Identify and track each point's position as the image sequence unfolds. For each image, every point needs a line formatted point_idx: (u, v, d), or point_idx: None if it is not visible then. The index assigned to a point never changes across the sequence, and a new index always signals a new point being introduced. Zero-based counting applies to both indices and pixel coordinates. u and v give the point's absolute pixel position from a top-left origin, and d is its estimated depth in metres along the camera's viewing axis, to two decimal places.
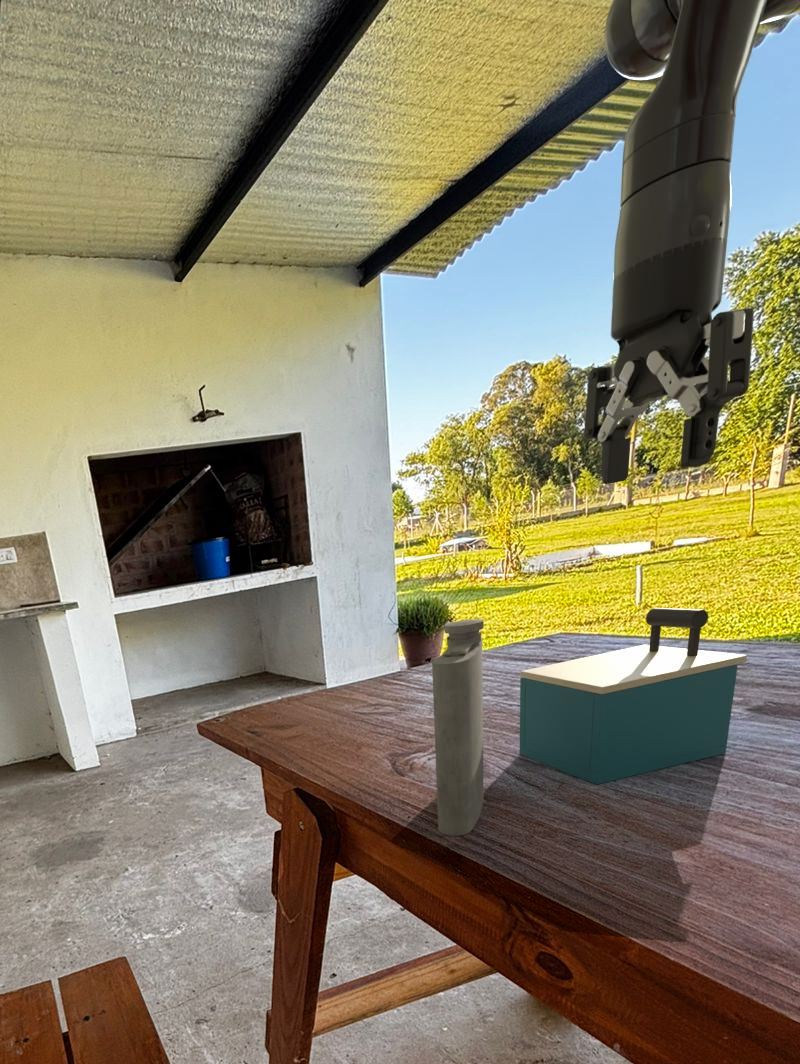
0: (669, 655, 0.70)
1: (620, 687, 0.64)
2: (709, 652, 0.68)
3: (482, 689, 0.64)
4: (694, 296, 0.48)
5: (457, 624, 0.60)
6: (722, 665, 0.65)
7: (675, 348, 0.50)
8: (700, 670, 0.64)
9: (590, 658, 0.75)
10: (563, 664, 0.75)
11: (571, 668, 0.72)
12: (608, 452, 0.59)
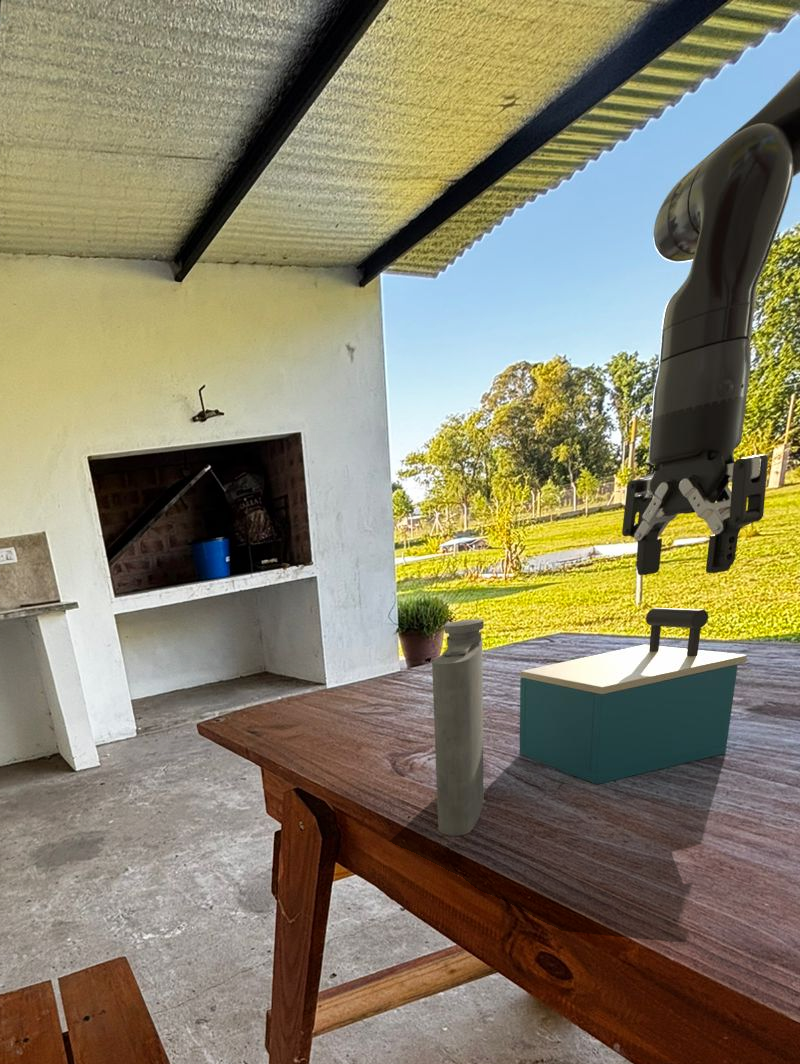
0: (669, 655, 0.70)
1: (620, 687, 0.64)
2: (709, 652, 0.68)
3: (482, 689, 0.64)
4: (720, 441, 0.60)
5: (457, 624, 0.60)
6: (722, 665, 0.65)
7: (703, 478, 0.62)
8: (700, 670, 0.64)
9: (590, 658, 0.75)
10: (563, 664, 0.75)
11: (571, 668, 0.72)
12: (643, 550, 0.70)
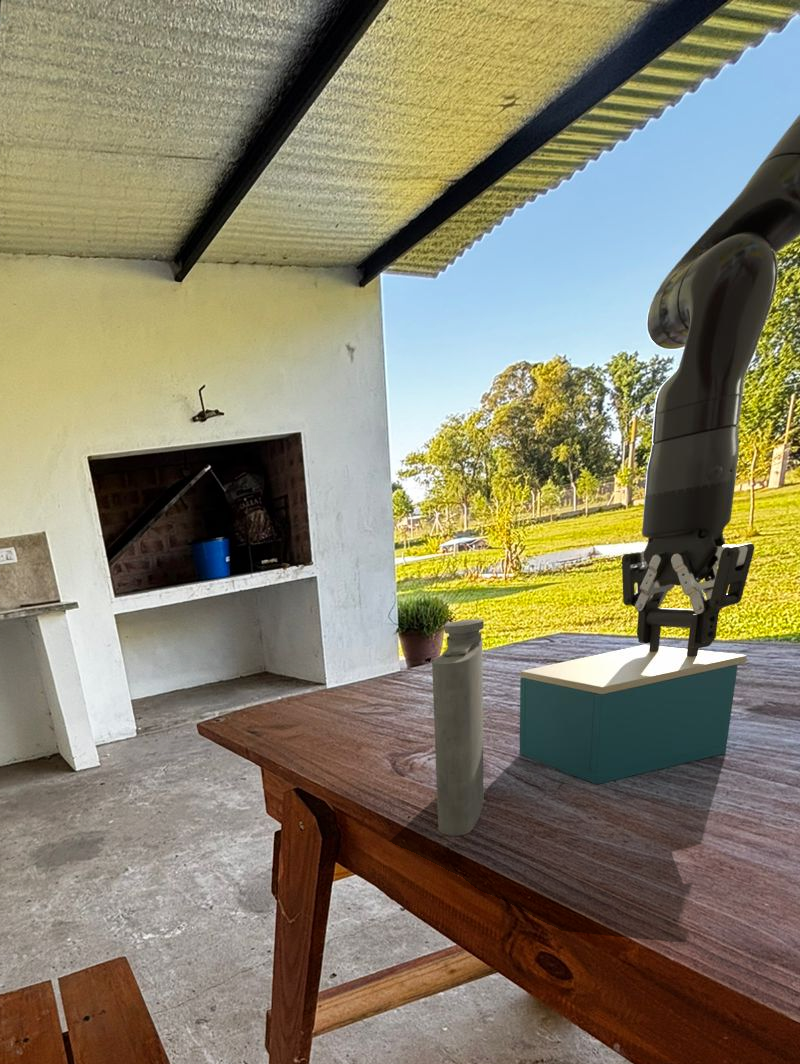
0: (669, 655, 0.70)
1: (620, 687, 0.64)
2: (709, 652, 0.68)
3: (482, 689, 0.64)
4: (709, 521, 0.62)
5: (457, 624, 0.60)
6: (722, 665, 0.65)
7: (694, 554, 0.64)
8: (700, 670, 0.64)
9: (590, 658, 0.75)
10: (563, 664, 0.75)
11: (571, 668, 0.72)
12: (643, 620, 0.72)
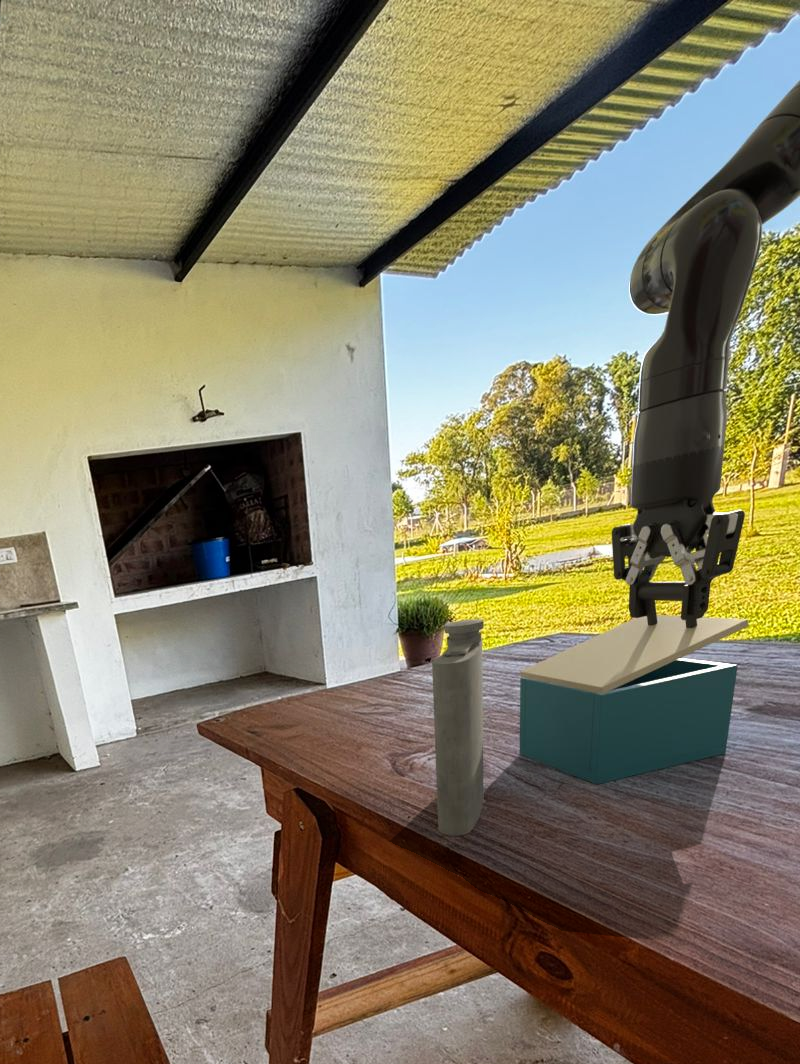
0: (668, 629, 0.69)
1: (620, 683, 0.63)
2: (709, 619, 0.67)
3: (482, 689, 0.64)
4: (699, 489, 0.61)
5: (457, 624, 0.60)
6: (723, 635, 0.64)
7: (683, 524, 0.63)
8: (701, 646, 0.64)
9: (589, 643, 0.74)
10: (562, 655, 0.74)
11: (570, 661, 0.72)
12: (635, 594, 0.71)
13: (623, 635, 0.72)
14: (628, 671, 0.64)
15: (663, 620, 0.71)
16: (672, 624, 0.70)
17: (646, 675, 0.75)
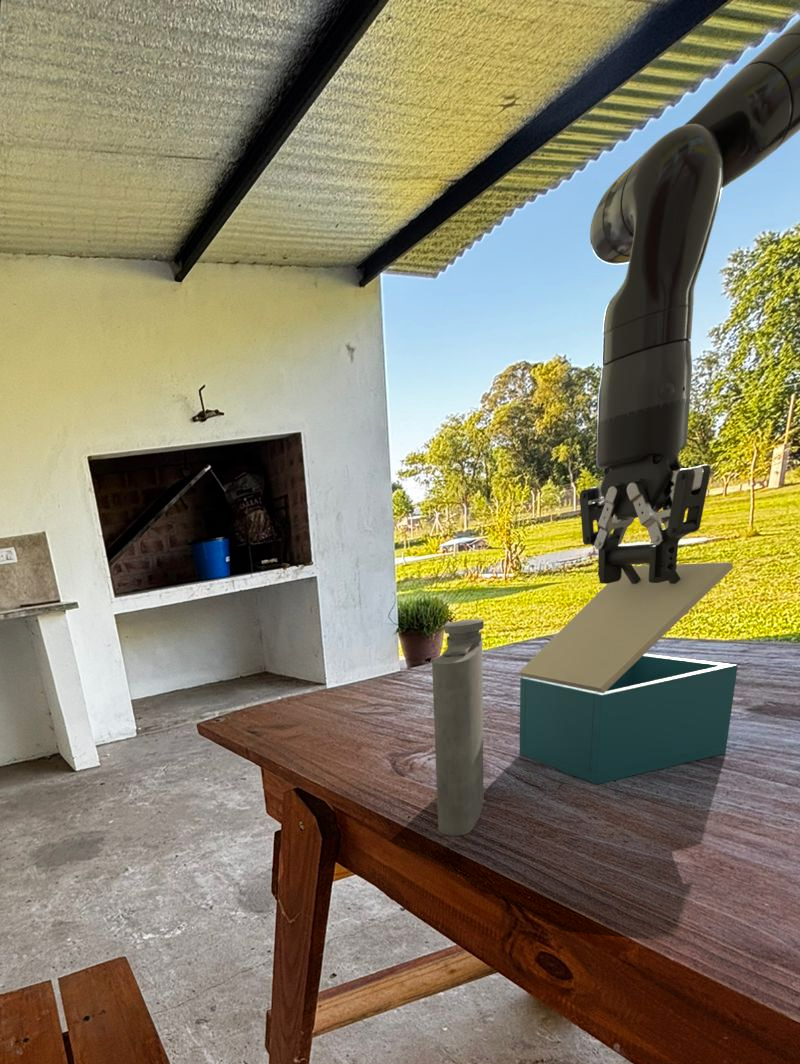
0: (653, 587, 0.67)
1: (618, 676, 0.63)
2: (691, 567, 0.65)
3: (482, 689, 0.64)
4: (664, 445, 0.59)
5: (457, 624, 0.60)
6: (709, 588, 0.62)
7: (649, 482, 0.61)
8: (689, 607, 0.62)
9: (578, 620, 0.73)
10: (555, 643, 0.73)
11: (564, 650, 0.71)
12: (603, 558, 0.69)
13: (610, 603, 0.71)
14: (622, 660, 0.63)
15: (646, 574, 0.69)
16: None
17: (646, 675, 0.75)
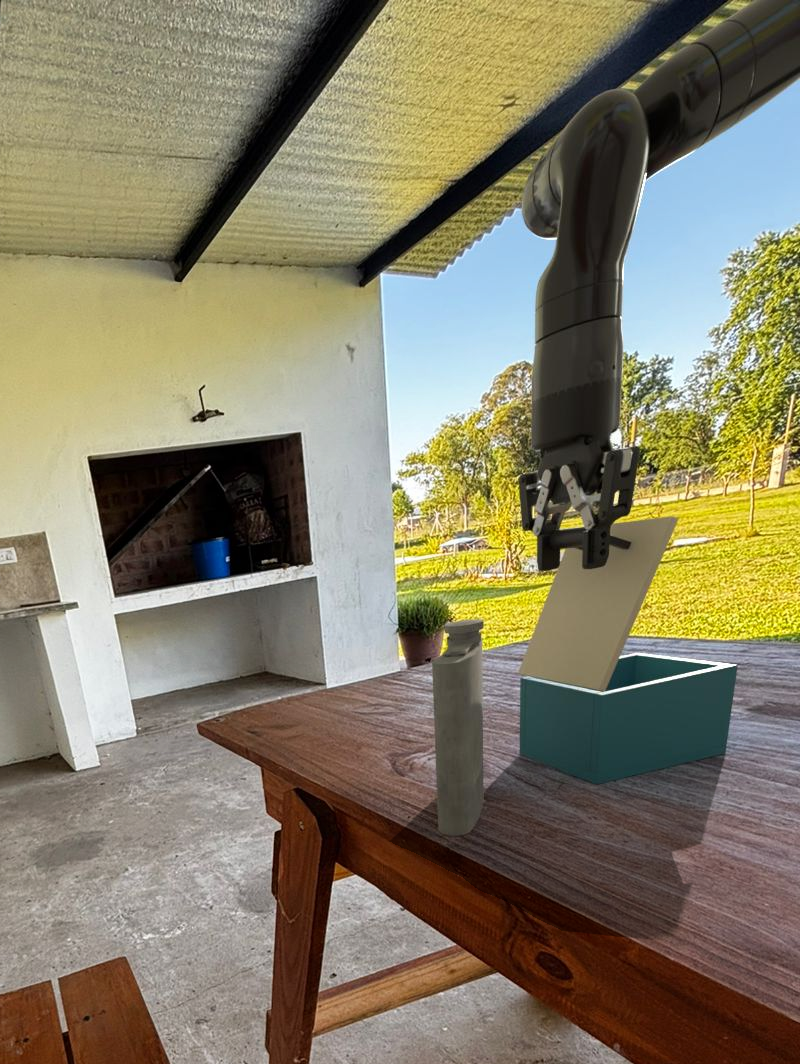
0: (608, 556, 0.65)
1: (611, 670, 0.63)
2: (637, 526, 0.62)
3: (482, 689, 0.64)
4: (594, 425, 0.57)
5: (457, 624, 0.60)
6: (663, 549, 0.59)
7: (581, 464, 0.59)
8: (651, 577, 0.60)
9: (551, 603, 0.72)
10: (539, 634, 0.73)
11: (551, 644, 0.71)
12: (541, 545, 0.67)
13: (574, 579, 0.69)
14: (608, 653, 0.63)
15: None
16: None
17: (646, 675, 0.75)
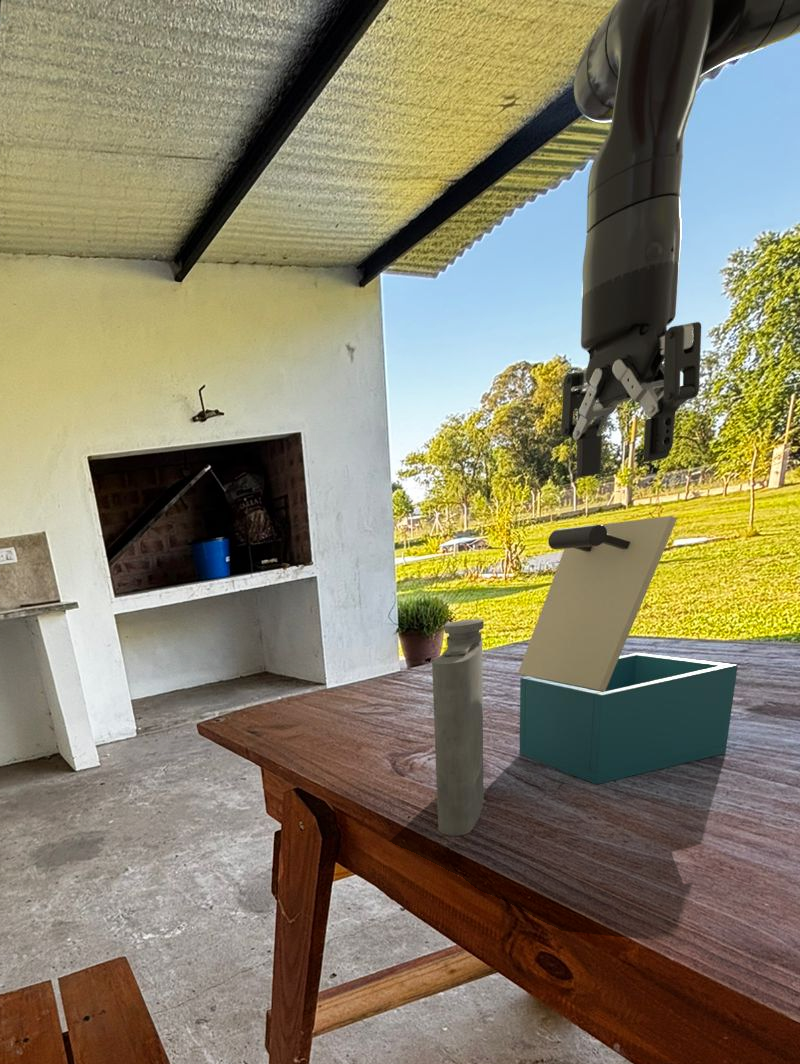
0: (607, 555, 0.65)
1: (611, 670, 0.63)
2: (636, 525, 0.62)
3: (482, 689, 0.64)
4: (651, 312, 0.55)
5: (457, 624, 0.60)
6: (662, 548, 0.59)
7: (636, 357, 0.57)
8: (650, 576, 0.60)
9: (550, 603, 0.72)
10: (539, 634, 0.73)
11: (550, 644, 0.71)
12: (582, 449, 0.66)
13: (573, 579, 0.69)
14: (608, 653, 0.63)
15: None
16: (607, 544, 0.65)
17: (646, 675, 0.75)
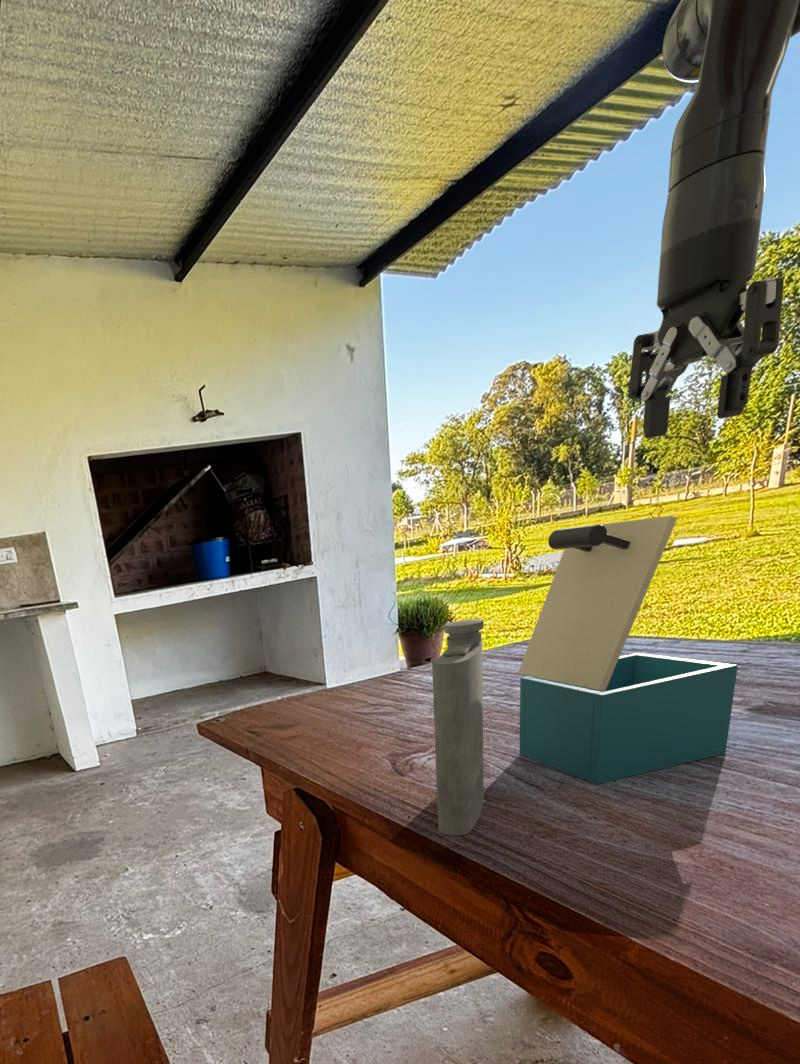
0: (607, 555, 0.65)
1: (611, 670, 0.63)
2: (636, 525, 0.62)
3: (482, 689, 0.64)
4: (732, 268, 0.57)
5: (457, 624, 0.60)
6: (662, 548, 0.59)
7: (714, 314, 0.59)
8: (650, 576, 0.60)
9: (550, 603, 0.72)
10: (539, 634, 0.73)
11: (550, 644, 0.71)
12: (650, 409, 0.67)
13: (573, 579, 0.69)
14: (608, 653, 0.63)
15: None
16: (607, 544, 0.65)
17: (646, 675, 0.75)
